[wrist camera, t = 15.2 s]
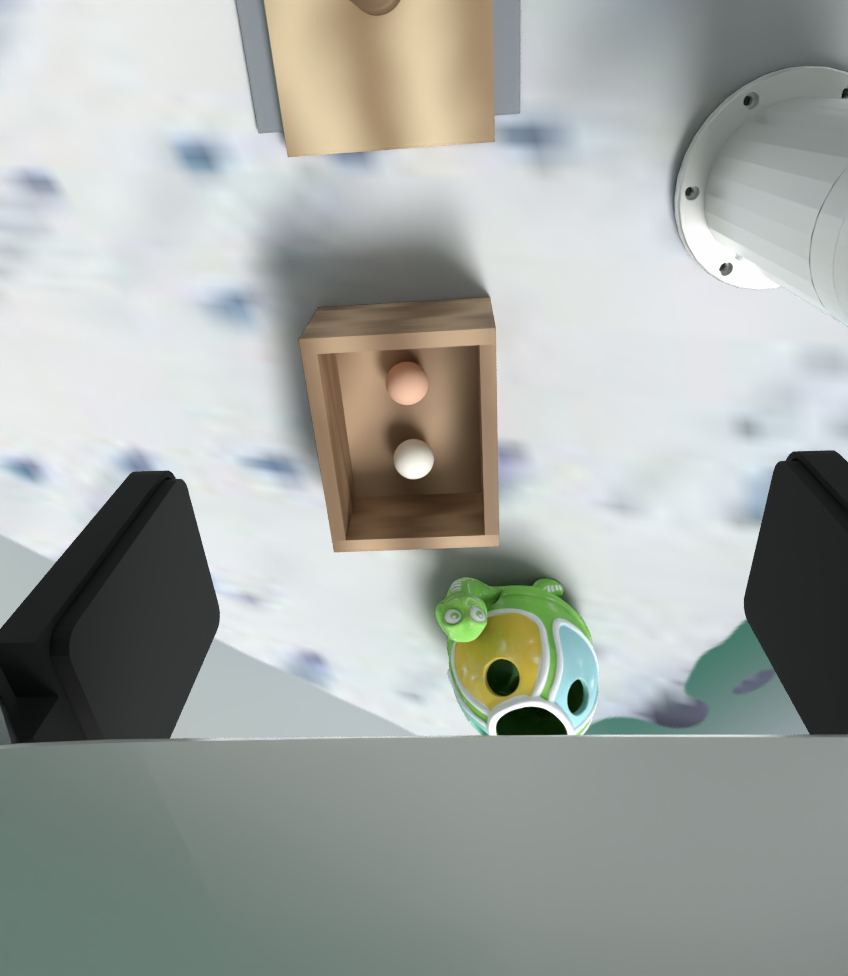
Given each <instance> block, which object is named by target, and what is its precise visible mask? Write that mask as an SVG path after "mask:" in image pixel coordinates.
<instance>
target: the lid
mask: <svg viewBox="0 0 848 976" xmlns="http://www.w3.org/2000/svg"><path fill="white" fill-rule="evenodd" d="M264 4H265V11H266V17H267V24H268V30H269V37H270V43H271V50H272V57H273V63H274V70H275V76H276V83H277V89H278V96H279V102H280V109H281V115H282V122H283V129H284V135H285V142H286V148H287V155H288V157H296V156H309V155H323V154H336V153H350V152H363V151H377V150H390V149H404V148H417V147H431V146H444V145H458V144H471V143H485V142H495V128H494V60H493V0H264Z"/></svg>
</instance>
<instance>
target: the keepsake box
mask: <svg viewBox="0 0 848 976" xmlns="http://www.w3.org/2000/svg"><path fill="white" fill-rule="evenodd" d="M299 344H300V350H301V356H302V362H303V368H304V374H305V380H306V386H307V392H308V398H309V404H310V410H311V416H312V422H313V428H314V434H315V440H316V446H317V452H318V459H319V465H320V471H321V477H322V483H323V489H324V495H325V501H326V507H327V513H328V519H329V525H330V531H331V537H332V543H333V549H334V552H355V551H383V550H410V549H438V548H466V547H494V546H499V502H498V440H497V378H496V327H495V322H494V316H493V311H492V305H491V300H490V297H485V298H468V299H451V300H434V301H418V302H401V303H384V304H367V305H350V306H334V307H318V308H317V310H316V312H315V313H314V315H313V317H312V318H311V320H310V322H309V323H308V325H307V326H306V328H305V330H304V331H303V333H302V335H301V336H300V338H299ZM401 362H413V363H416V364H418V365H419V366H421V367H422V368H423V369H424V371H425V372H426V374H427V377H428V382H429V385H428V390H427V393H426V394H425V396H424V397H423V398H422V399H421V400H420V401H419V402H417V403H415V404H412V405H403V404H399V403H397V402H396V401H394V400H393V399H392V398H391V397H390V396H389V394H388V392H387V389H386V377H387V375H388V373H389V371H390V370H391V368H392V367H394V366H395V365H396V364H398V363H401ZM409 439H418V440H421V441H423V442H425V443H426V444H428V445H429V447H430V448H431V450H432V452H433V456H434V463H433V466H432V468H431V470H430V472H429V473H428V474H427V475H425V476H424V477H422V478H419V479H408V478H405V477H404V476H402V475H401V474H400V473H399V472H398V471H397V470H396V468H395V465H394V453H395V450H396V449H397V447H398V446H399V445H400V444H401V443H402V442H404V441H406V440H409Z"/></svg>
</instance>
